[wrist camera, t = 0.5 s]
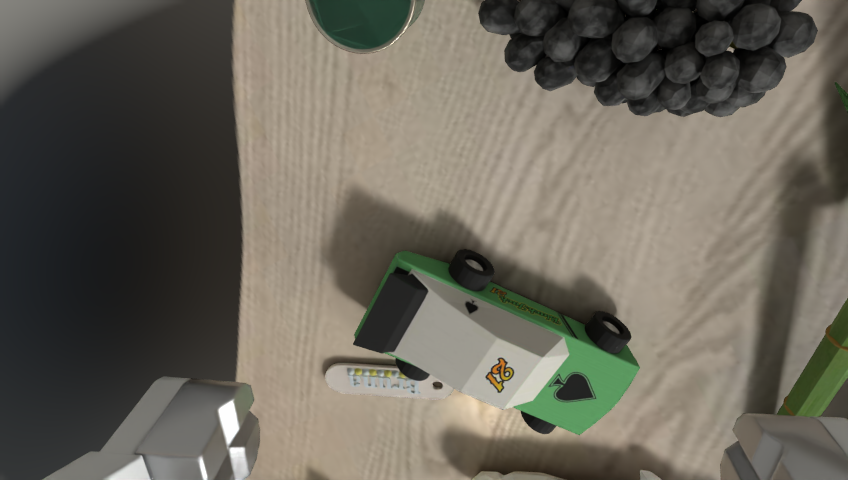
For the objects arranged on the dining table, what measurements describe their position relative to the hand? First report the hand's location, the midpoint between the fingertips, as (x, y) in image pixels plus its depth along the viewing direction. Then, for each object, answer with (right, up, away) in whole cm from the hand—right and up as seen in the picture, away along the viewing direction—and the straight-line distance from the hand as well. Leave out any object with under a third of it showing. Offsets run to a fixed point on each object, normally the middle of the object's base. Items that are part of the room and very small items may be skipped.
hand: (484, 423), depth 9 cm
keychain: (-4, -8, +33) cm, 35 cm away
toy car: (+4, -4, +31) cm, 31 cm away
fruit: (+10, +16, +20) cm, 27 cm away
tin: (-3, +17, +20) cm, 27 cm away
